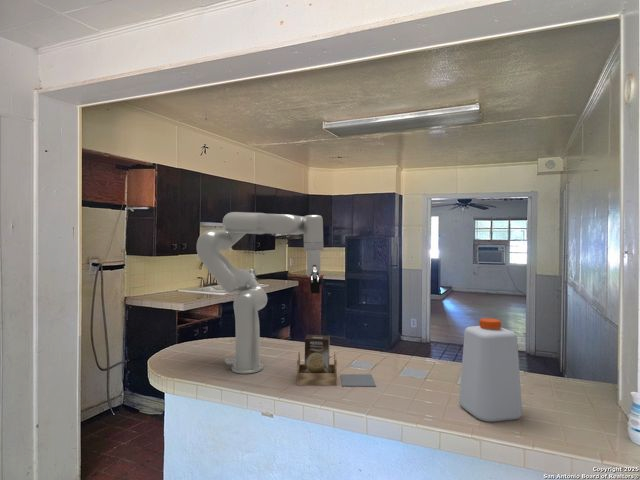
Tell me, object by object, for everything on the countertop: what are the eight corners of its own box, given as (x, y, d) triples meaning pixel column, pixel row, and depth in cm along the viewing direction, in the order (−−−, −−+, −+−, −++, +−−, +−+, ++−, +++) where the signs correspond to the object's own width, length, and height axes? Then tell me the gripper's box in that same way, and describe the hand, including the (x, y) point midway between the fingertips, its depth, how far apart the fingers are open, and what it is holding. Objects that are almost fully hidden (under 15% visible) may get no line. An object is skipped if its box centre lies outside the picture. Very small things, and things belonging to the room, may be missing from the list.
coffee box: (303, 382, 147) (303, 338, 147) (305, 376, 154) (306, 334, 154) (328, 383, 146) (328, 339, 146) (329, 377, 153) (330, 335, 153)
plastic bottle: (528, 420, 117) (529, 324, 117) (482, 424, 114) (483, 326, 114) (495, 399, 132) (496, 314, 132) (454, 403, 129) (454, 316, 129)
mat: (342, 386, 143) (342, 385, 143) (340, 375, 155) (340, 374, 155) (375, 386, 143) (375, 385, 143) (371, 375, 155) (371, 374, 155)
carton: (297, 385, 144) (297, 360, 144) (298, 374, 156) (298, 351, 156) (336, 385, 145) (336, 360, 144) (335, 374, 156) (335, 351, 156)
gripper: (303, 247, 164) (304, 289, 164) (304, 247, 146) (305, 294, 146) (322, 246, 164) (323, 288, 164) (324, 247, 147) (325, 294, 147)
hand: (314, 291), depth 155 cm, fingers open, 9 cm apart
